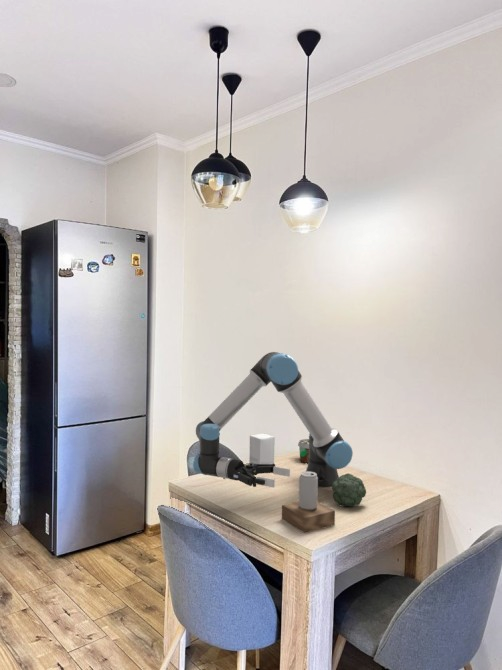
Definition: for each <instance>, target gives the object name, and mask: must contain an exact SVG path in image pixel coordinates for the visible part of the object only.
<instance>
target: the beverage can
mask: <svg viewBox="0 0 502 670" xmlns="http://www.w3.org/2000/svg"><path fill="white" fill-rule="evenodd" d="M298 485H299V486H298V489H299V490H298V501H299V506H300V507H301V509H303V510H314V509H315V508H317V502H318V495H319V494H318V493H319V491H318V489H319V488H318V487H319V486H318V477H317V474H316V473H315V472H310V471H306V470H304V471H301V472H300V475H299V481H298Z"/></svg>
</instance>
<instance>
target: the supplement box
mask: <svg viewBox="0 0 502 670" xmlns="http://www.w3.org/2000/svg"><path fill="white" fill-rule="evenodd" d="M275 438H276V437H275V436H272V435H269V434H266V433H257V434H251V435H249V458H248V459H249V464H248V465H250V463H253V464H275V444H276V443H275V440H276V439H275Z"/></svg>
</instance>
